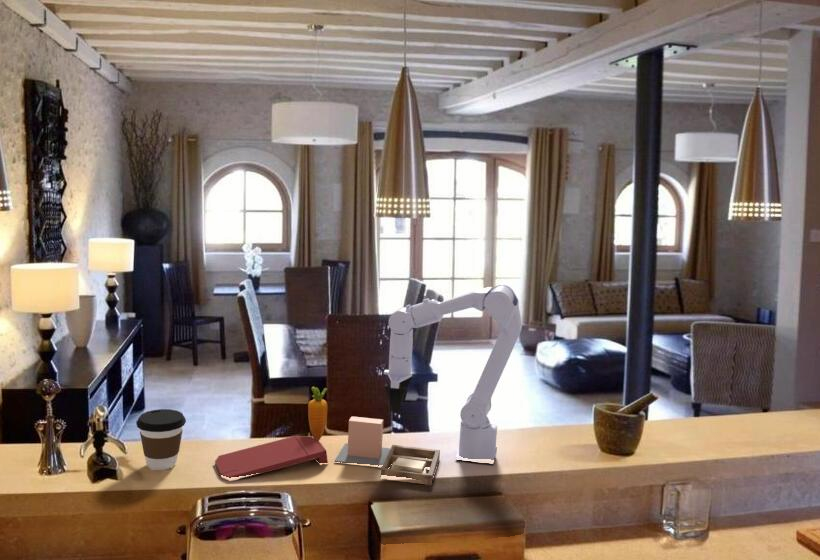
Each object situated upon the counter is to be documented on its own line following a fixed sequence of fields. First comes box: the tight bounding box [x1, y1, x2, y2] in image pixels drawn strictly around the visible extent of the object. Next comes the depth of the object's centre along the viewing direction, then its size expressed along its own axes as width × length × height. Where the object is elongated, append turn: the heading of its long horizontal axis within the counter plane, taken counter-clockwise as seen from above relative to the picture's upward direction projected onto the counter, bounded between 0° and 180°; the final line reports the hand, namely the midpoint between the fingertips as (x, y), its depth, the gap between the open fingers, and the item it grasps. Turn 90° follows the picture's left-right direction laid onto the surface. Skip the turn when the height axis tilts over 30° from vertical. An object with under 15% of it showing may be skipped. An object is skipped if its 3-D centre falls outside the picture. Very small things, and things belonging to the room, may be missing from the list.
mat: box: [334, 442, 391, 466], centre depth 193 cm, size 12×11×1 cm
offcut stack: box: [390, 457, 426, 473], centre depth 184 cm, size 8×5×4 cm, turn 80°
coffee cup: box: [135, 408, 187, 471], centre depth 182 cm, size 11×11×12 cm
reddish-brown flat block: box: [214, 435, 329, 478], centre depth 187 cm, size 12×5×25 cm
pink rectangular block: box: [347, 416, 384, 459], centre depth 193 cm, size 8×3×9 cm, turn 82°
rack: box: [380, 444, 441, 487], centre depth 188 cm, size 12×15×2 cm
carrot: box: [307, 386, 328, 442], centre depth 199 cm, size 5×5×15 cm
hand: (398, 406), depth 200 cm, fingers open, 7 cm apart
